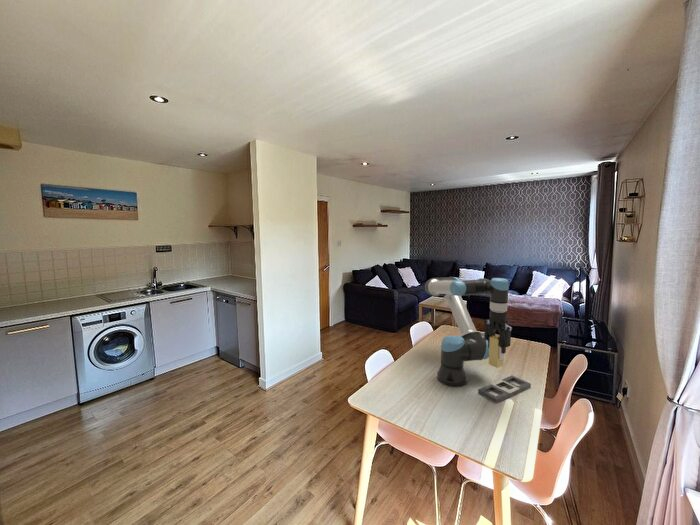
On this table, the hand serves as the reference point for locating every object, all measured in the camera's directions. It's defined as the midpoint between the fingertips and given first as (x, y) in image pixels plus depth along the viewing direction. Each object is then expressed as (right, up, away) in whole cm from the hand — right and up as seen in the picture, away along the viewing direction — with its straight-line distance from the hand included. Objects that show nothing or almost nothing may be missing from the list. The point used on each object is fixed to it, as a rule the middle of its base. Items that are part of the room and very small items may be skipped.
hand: (496, 356), depth 142 cm
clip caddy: (+29, -12, +66) cm, 73 cm away
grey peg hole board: (+8, -19, +6) cm, 21 cm away
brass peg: (0, -4, 0) cm, 4 cm away
